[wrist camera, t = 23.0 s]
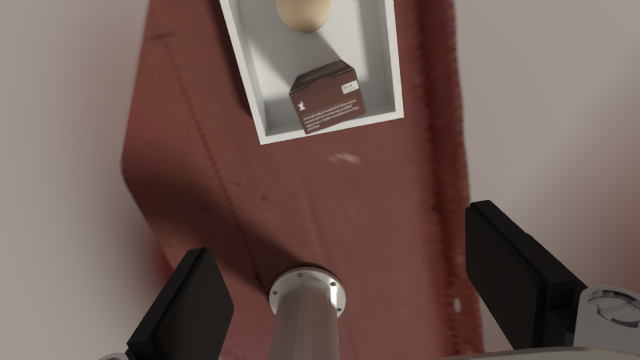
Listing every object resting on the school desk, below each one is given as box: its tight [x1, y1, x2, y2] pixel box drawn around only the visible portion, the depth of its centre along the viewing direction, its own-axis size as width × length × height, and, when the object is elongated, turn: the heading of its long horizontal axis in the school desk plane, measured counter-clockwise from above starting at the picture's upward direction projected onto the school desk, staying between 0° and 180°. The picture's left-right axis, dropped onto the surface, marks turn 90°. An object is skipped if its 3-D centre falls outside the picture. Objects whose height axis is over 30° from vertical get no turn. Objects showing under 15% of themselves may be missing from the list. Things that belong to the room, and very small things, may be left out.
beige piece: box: [275, 0, 331, 33], centre depth 31 cm, size 5×5×7 cm
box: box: [289, 59, 367, 135], centre depth 32 cm, size 6×4×12 cm
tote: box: [220, 0, 404, 145], centre depth 34 cm, size 18×17×5 cm
